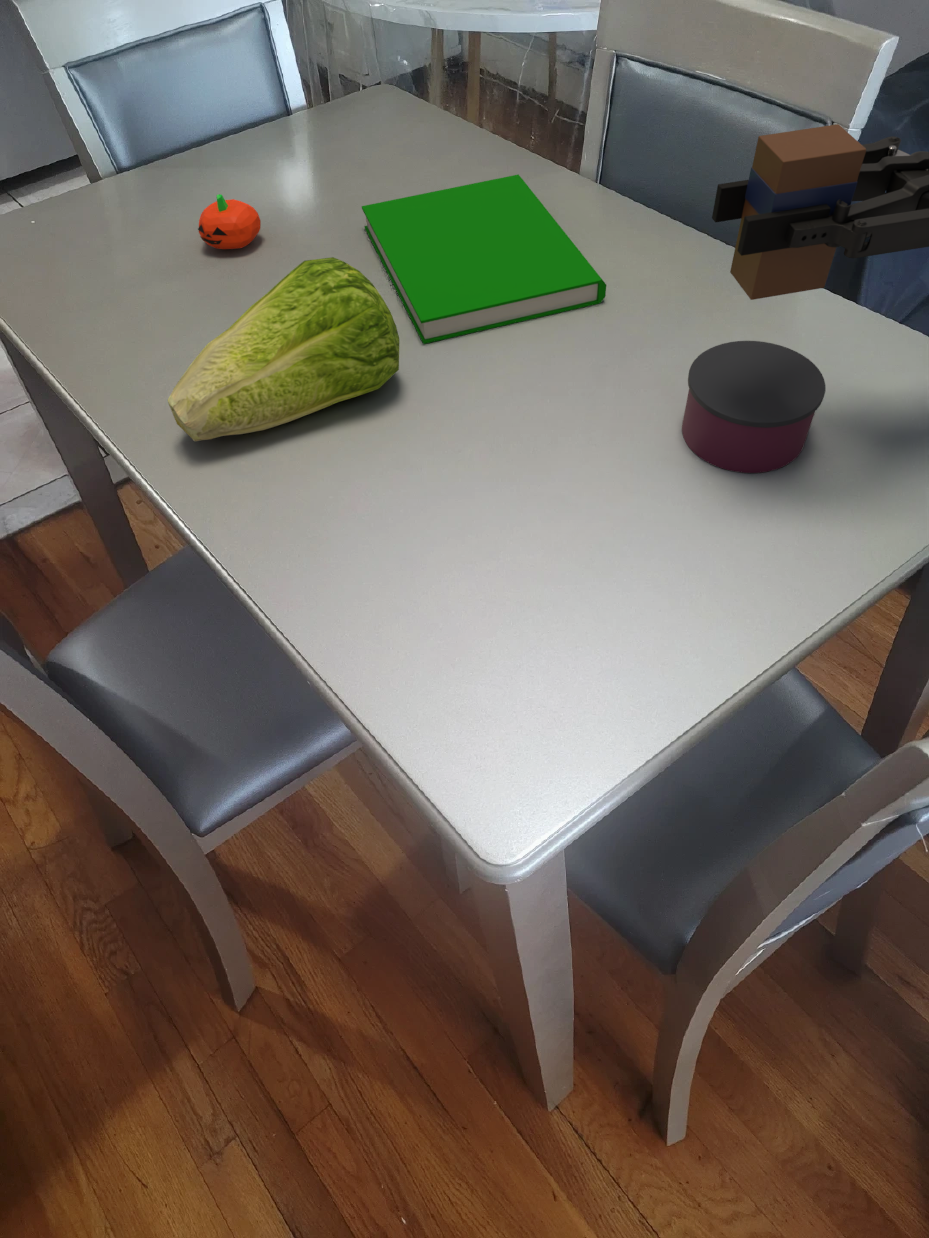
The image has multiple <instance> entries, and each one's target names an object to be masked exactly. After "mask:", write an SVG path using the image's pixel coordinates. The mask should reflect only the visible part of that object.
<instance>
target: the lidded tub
mask: <svg viewBox="0 0 929 1238" xmlns="http://www.w3.org/2000/svg"><path fill="white" fill-rule="evenodd" d="M687 386H688V392H687V397H686V403H685V406H684V407H685V408H684V413H683V418H682V419H683V420H682V423H681V434H682V437H683V439H684V442H685V444H686V445H687V447H688V448H689V450H691V451H692V453H694V454H695V455H696V456H697V457H699V458H700V459H701V460H703V461H704V462H706V463H707V464H709V465H712V466H713V467H714V466H715V467H717V468H719V469H723V470H726V471H730V472H736V473H742V474H743V473H744V474H760V473H767V472H772V471H775V470H778V469H781V468H783V467H785V466H787V465H789V464H790V463H792V462H793V461H795V460H796V459H797V458H798V457H799V455H800V454H801V452H802V451H803V448H804V447H805V444H806V440H807V437H808V434H809V431H810V429H811V425H812V423H813V419H814V418H815V417H814V416H815V414H816V411H817V410H818V409H819V407H820V406H821V404H822V403H823V401H824V397H825V394H826V381H825V378H824V376H823V373H822V372H821V371H820V369H819V368H818V367H817V366H816V364H815V363H814V362H812V360H810V359H809V358H808V357H806V356H805V355H803V354H801V353H799V352H798V351H796V350H793V349H791V348H789V347H786V346H784V345H780V344H777V343H772V342H767V341H759V340H737V341H729V342H724V343H720V344H717V345H714V346H712V347H710V348H708V349H706V350H704V351H703V352H701V353H700V354H699V355H698V356H697V357H696V358H695V359H694V360H693V362H692V364H690V367H689V371H688V376H687Z"/></svg>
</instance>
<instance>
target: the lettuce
mask: <svg viewBox="0 0 929 1238" xmlns="http://www.w3.org/2000/svg"><path fill="white" fill-rule="evenodd" d="M398 332H399V331H398V327H397V325H396V322H395V319H394V317H393V314H392V312H391V310H390V308H389V306H388V305H387V303H386V302H385V300H384V298H383V296H382V295H381V294H380V292H379V291H378V289H377V288H376V287H375V285H374V283H373V282H371V281H370V280H369V279H368V278H367V276H366V275H364V274H363V273H362V272H361V270H359V269H357V268H355V267H354V266H352V265H350V264H348V263H347V262H346V261H344V260H341V259H339V258H336V257H333V256H332V257H323V258H315V259H307V260H303V261H302V262H301V263H299V264H298V265H296V267H294V269H292V270H291V271H290V272H289V273H287V274H286V275H285V276H284V277H283V278H282V279H281V280H279V281H278V282H277V283H276V284H275V285H274V286H273V287H272V288H271V289H269V291H268V292H266V293H265V294H264V295H263V296H262V297H260V298H259V299H258V300H257V301H255V302H254V303H253V304H252V305H250V306H249V307H248V308H247V309H246V310H245V311H244V312H243V314H242V315H241V316H240V317H238V319H237V320H235V321H234V323H232V324H231V325H230V326H229V327H228V328H227V329H226V330H225V331H223V332H222V333H220V334H219V335H218V336H216V337H215V338H213V339H212V340H211V341H209V342H208V343H207V344H206V345H205V346H204V347H203V349H201V351H199V353H198V354H197V356H196V357H195V358H194V359H193V360H192V362H191V363H190V365H189V366H188V367H187V369H186V370H185V371H184V373H183V375H181V377H180V378H179V380H178V381H177V383H176V384H175V386H173V389H172V391H171V393H170V395H169V397H168V398H167V403H168V406H169V408H170V411H171V414H172V416H173V418H174V420H175V423H176V425H177V426H178V427H179V428H180V429H181V430H183V431H184V432H185V434H187V435H188V437H190V439H192V441H194V442H200V441H205V440H212V439H213V440H214V439H216V438H220V437H223V436H224V437H225V436H234V435H243V434H249V433H255V432H260V431H265V430H268V429H271V428H274V427H278V426H281V425H283V424H286V423H289V422H292V421H295V420H298V419H300V418H302V417H303V418H304V417H305V416H307V415H310V414H313V413H315V412H318V411H320V410H322V409H325V408H328V407H330V406H333V405H335V404H337V403H340V402H343V401H346V400H347V401H348V400H350V399H353V398H356V397H359V396H362V395H365V394H368V393H371V392H374V391H376V390H379V389H380V388H382V386H384V384H386V382H387V381H389V380H390V379H391V378H392V377H393V376H394V375H395V374H396V373H397V372H398V371H399V370H400V337H399V333H398Z"/></svg>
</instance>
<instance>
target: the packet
mask: <svg viewBox="0 0 929 1238" xmlns="http://www.w3.org/2000/svg"><path fill="white" fill-rule="evenodd" d="M862 145H863V144H861V142H859V141H858V140H857V139H856V138H855V137H853V136H852V135H851V134H850V133H849V132H848V131H847V130H846V129H845V128H843V127H842V125H840V123H837V124H830V125H823V126H817V127H810V128H809V127H808V128H803V129H796V130H789V131H783V132H777V133H770V134H763V135H758V137H757V142H756V147H755V152H754V156H753V161H752V165H751V167H750V171H749V175H748V179H747V180H748V185H747V190H746V194H745V203H744V208H743V213H742V218H741V219H740V223H739V228H738V233H737V237H736V242H735V247H734V252H733V256H732V262H731V266H730V272H729V273H730V274H731V275H732V277H733V278H734V279H735V281H736V282H737V284H738V285H739V286H740V288H741V289H742V290H743V291H744V293H745V294H746V295H747V297H748V298H749V300H751V301H753V300H759V299H765V298H766V299H767V298H771V297H778V296H783V295H790V294H795V293H796V294H797V293H801V292H807V291H813V290H814V291H815V290H819V289H824V288H825V286H826V283H827V280H828V277H829V273H830V270H831V267H832V263H833V260H834V257H835V253H836V250H837V247H829V246H827V245H826V244H825V243H824V244H818V245H812V246H806V247H805V246H804V247H800V248H786V249H780V250H773V251H767V252H761V253H755V254H749V255H743V256H741V255H740V254H739V252H738V251H737V250H738V245H739V241H740V236H741V231H742V226H743V222H744V217H745V216H751V215H757V214H764V213H770V212H778V211H784V210H790V209H797V208H803V207H809V206H816V205H822V204H827V205H828V206H829V207H830V208H831V210H830V213H829V217H830V216H833V213H834V210H835V206H836V203H837V201H838V200H839V199H840V200H841V201H843V202H845V203H847V204H848V206H849V205H852V202H853V201H852V198H853V195H854V192H855V189H856V185H857V179H858V176H859V172H860V169H861V166H862V163H863V159H864V156H865V153H866V148H865V147H863V146H862ZM841 201H840V204H841Z"/></svg>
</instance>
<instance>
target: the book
mask: <svg viewBox="0 0 929 1238" xmlns="http://www.w3.org/2000/svg"><path fill="white" fill-rule="evenodd" d="M361 209H362V212H363V214H364V216H365V220H366V225H364V230H365V232H366V234H367V236H368V238H369V240H370V242H371V244H372V246H373V248H374V250H375V252H376V253H377V256H378V257H379V260H380V262H381V263H382V265H383V267H384V270H385V272H386V273H387V275H388V277H389V280H390V281H391V283H392V285H393V288H394V290H395V291H396V294H397V295H398V297H399V299H400V301H401V303H402V305H403V307H404V309H405V311H406V313H407V315H408V316H409V320H410V321H411V323H412V325H413V326H414V328H415V330H416V332H417V335H418V336H419V339H420V340H421V342H422V344H423V345H426V344H431V343H434V342H439V341H444V340H447V339H451V338H457V337H461V336H466V335H470V334H474V333H479V332H482V331H487V330H492V329H495V328H499V327H505V326H508V325H509V326H510V325H513V324H517V323H522V322H525V321H530V320H534V319H539V318H543V317H548V316H552V315H556V314H560V313H565V312H569V311H574V310H577V309H582V308H586V307H590V306H595V305H599V304H601V303H602V302H603V301H604V299H605V298H606V293H607V283H606V282H605V281H604V280H603V278H602V277H601V276H600V274H598V272H597V271H596V269H594V266H592V265H591V263H590V262H589V261H588V259H587V258H586V257H585V255H584V254H583V253H582V252H581V251H580V250H579V248H578V247H577V246H576V244H574V242H573V241H572V240H571V238H570V237H569V236H568V234H567V233H566V232H565V230H564V229H563V228H562V227H561V226H560V224H559V223H558V221H557V220H556V219H555V218H554V216H553V215H552V214H551V213H550V211H549V210H548V209H547V208H546V207H545V206H544V204H543V203H542V202H541V200H540V199H539V198H538V197H537V196H536V194H535V193H534V191H533V190H532V189H531V187H529V185H528V184H527V183H526V182H525V180H524V179H523V178H522V177H521V176H520V174H513V175H509V176H503V177H499V178H493V179H489V180H483V181H479V182H473V183H468V184H464V185H460V186H453V187H449V188H444V189H440V190H435V191H434V190H433V191H430V192H425V193H420V194H415V195H409V196H406V197H405V196H404V197H402V198H396V199H390V200H386V201H385V200H384V201H381V202H375V203H371V204H370V203H369V204H365V205H361Z"/></svg>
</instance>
